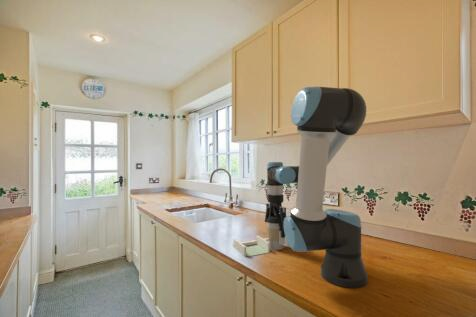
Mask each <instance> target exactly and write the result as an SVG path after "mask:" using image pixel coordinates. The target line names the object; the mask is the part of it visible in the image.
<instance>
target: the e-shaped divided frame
mask: <svg viewBox="0 0 476 317" xmlns="http://www.w3.org/2000/svg"><path fill="white" fill-rule="evenodd" d="M255 237H256V238H255V239H253V240H247V241H242V242H240V241H239V240H238V239H235V238H234V239H233V243H232V247H233V248H234V249H235V250H236V251H237V252H238V253H240V254H241V255H242V256H243V257H247V256H246V247H249V246H252V245H253V246H255V245H256V246H257V245H259V246H260V247H262V248H263V249H265V250H266V251H268V252H269V253H270V252H271V249H270V243H269V240H268V237H267V238H266V237H265V238H263V237H261V236H260V235H256V236H255ZM283 246H286V247H287V248H291V247H290V246H289V244H288V242H287V240H286V236H285V244H284V245H283Z"/></svg>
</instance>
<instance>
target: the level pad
mask: <svg viewBox="0 0 476 317" xmlns="http://www.w3.org/2000/svg"><path fill="white" fill-rule="evenodd" d="M269 253H270V252H268V251H266V250H265V249H263V248H262V247H260V246H259V245H257V244H256V245H253V246H252V245H250V246H246V256H245V257H253V256H258V255H265V254H269Z"/></svg>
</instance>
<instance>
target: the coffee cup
mask: <svg viewBox="0 0 476 317" xmlns="http://www.w3.org/2000/svg"><path fill="white" fill-rule="evenodd" d="M279 229H280V227H279V221H278V219H277V216H275V215H273V216H269V218H267V222H266V230H267V238H268V240H269V243H270V250H275V251H280V250H283V249H284V246H285V245H284V244H282V245H280V244H279Z"/></svg>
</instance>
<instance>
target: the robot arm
mask: <svg viewBox="0 0 476 317" xmlns="http://www.w3.org/2000/svg"><path fill="white" fill-rule="evenodd" d="M290 112H291V113H290V117H291V122H292V123H293V125H294V126H296V127H297V129H296V131H297V132H298V133H299V135H300V137H301V139H300V150H299V151H300V153H299V163H298V164H299V165H297V166H296V165H295V166H294V165H291V166H290V165H288V166H285V165H284V164H283V162H282V161H269V162H268V163H267V164H266V166H267V168H266V170H267V171H266V173H267V174H266V175H267V176H266V179H267V185H266V186H267V189H266V191H267V202H268V203H266V204H265V215H264V216H265V218H264V222H265V223H267V218H269V216H273V215H275V216H277V219H278V221H279V227H280V229H279V244H280V245H282V244H285V236H286V240H287V242H288V244H289V246H290V247H291V250H292V251H294V252H298V253H299V252H303V253H306V252H313V251H325V254H324V257H323V259H322V260H323V261H322V263H321V266H320V276H321V277H322V278H323V279H324V280H325V281H327V282H328V283H330V284H333V285H336V286H340V287H344V288H350V289H352V288H353V289H355V288H356V289H357V288H362V287H364V286H366V285H367V284H368V282H369V279H368V273H367V271H366V267H365V264H364V261H363V257H362V228H363V227H362V222H361V217H360V215H358V214H356V213H354V212H350V211H346V210H341V209H333V208H328V209H325V211H324V207H323V205H324V197H325V186H326V178H327V167H328V165H329V164H330V163H331V161H332V160H333V159H334V158H335V156H336V155H337V154H338V152H339V151H340V150H341V148H343V146H344V145H345V143H346V142H347V141H348V139H349V138H350V137H351V136H355V135H356V134H357V132H358V131H359V130H360V129H361V128H362V126H363V124H364V123H365V120H366V117H367V103H366V101H365V99H364V98H363V96H362V95H361V94H360V93H359V92H358V91H357V90H354V89H351V88H347V87H344V88H343V87H342V88H341V87H340V88H339V87H327V86H307V87H306V86H305V87H303V88H302V89H300V90H299V91H298V93H297V94H296V96H295V97H294V99H293V102H292V106H291V111H290ZM290 184H297V188H296V189H297V190H296V200H295V201H296V202H295V205H294V206H293V207H292V208H291V209H290V215H287V207H283V205H282V204H283V203H284V185H290Z"/></svg>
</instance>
